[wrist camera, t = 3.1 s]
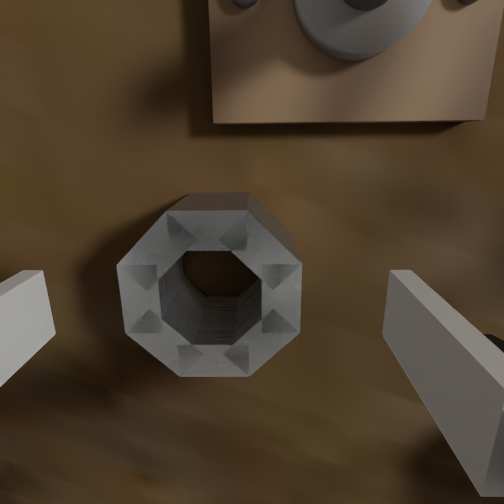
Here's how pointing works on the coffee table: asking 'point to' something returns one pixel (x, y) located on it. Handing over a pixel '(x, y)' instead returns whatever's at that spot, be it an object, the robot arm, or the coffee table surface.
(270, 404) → the coffee table surface
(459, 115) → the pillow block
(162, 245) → the ring
